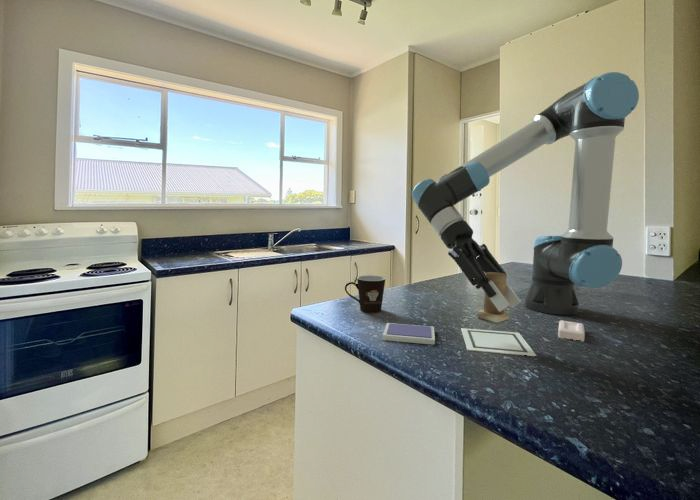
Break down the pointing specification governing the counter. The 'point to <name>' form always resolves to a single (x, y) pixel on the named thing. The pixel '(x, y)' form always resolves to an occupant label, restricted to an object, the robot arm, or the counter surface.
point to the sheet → (496, 342)
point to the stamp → (490, 310)
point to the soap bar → (571, 330)
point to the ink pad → (409, 333)
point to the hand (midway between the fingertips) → (510, 306)
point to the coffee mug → (369, 292)
